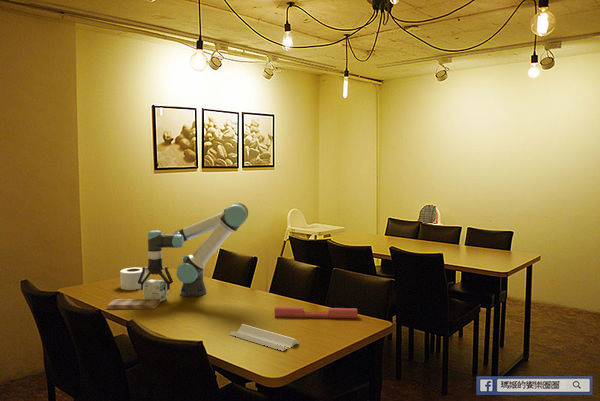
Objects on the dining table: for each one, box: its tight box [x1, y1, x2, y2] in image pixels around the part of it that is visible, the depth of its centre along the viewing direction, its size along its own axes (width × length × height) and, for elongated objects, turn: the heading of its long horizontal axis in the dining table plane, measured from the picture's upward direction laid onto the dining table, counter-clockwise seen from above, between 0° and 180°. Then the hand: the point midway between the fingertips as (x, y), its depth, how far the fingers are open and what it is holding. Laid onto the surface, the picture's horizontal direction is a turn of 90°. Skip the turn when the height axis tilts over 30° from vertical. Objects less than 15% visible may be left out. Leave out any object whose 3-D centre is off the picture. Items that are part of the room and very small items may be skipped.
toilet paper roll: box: [119, 266, 148, 291], centre depth 303 cm, size 16×15×11 cm
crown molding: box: [229, 323, 300, 352], centre depth 215 cm, size 31×12×4 cm, turn 53°
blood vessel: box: [274, 306, 358, 319], centre depth 247 cm, size 42×5×5 cm, turn 88°
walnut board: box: [107, 298, 161, 310], centre depth 263 cm, size 25×11×2 cm, turn 92°
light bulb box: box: [144, 278, 168, 303], centre depth 275 cm, size 11×7×11 cm, turn 71°
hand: (155, 295), depth 275 cm, fingers closed on light bulb box, 12 cm apart
